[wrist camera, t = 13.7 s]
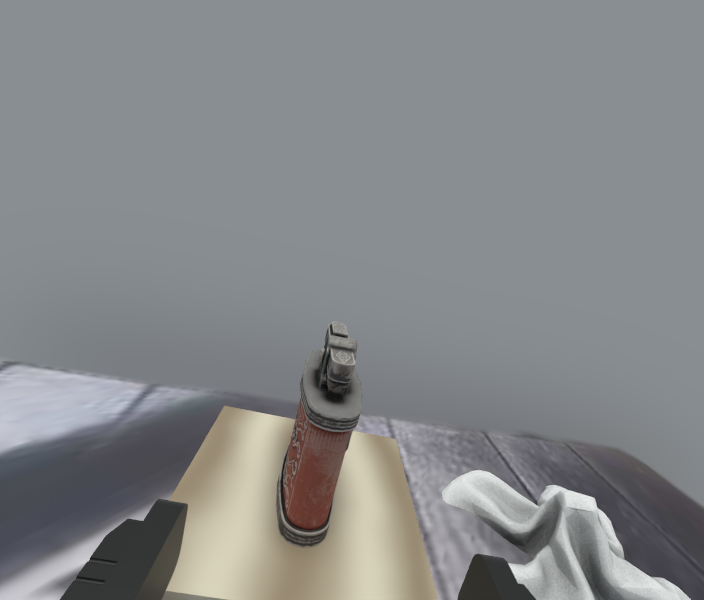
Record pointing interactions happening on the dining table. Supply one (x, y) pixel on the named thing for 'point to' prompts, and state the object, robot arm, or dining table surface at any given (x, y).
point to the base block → (262, 525)
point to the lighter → (319, 440)
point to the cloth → (558, 542)
